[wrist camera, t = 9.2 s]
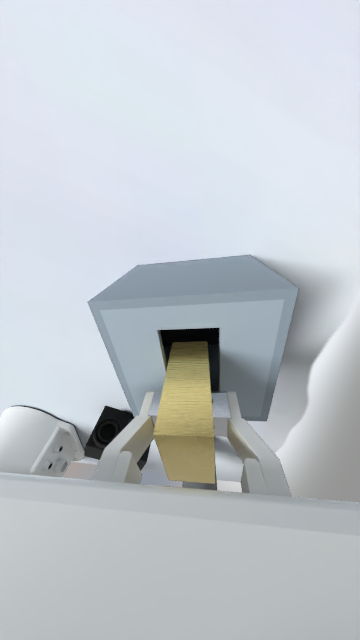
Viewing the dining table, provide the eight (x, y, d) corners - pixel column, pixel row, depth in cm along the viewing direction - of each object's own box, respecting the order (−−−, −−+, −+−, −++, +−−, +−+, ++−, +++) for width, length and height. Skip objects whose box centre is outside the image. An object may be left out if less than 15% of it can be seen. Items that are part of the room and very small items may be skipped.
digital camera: (157, 417, 34) (149, 460, 28) (150, 430, 37) (141, 472, 31) (106, 401, 33) (85, 442, 27) (102, 416, 36) (83, 456, 30)
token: (209, 385, 14) (215, 483, 9) (179, 385, 14) (168, 479, 9) (207, 341, 12) (214, 437, 7) (172, 342, 12) (152, 434, 7)
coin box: (241, 347, 23) (266, 421, 15) (156, 349, 25) (134, 417, 16) (249, 254, 18) (298, 287, 9) (137, 265, 19) (87, 302, 11)
